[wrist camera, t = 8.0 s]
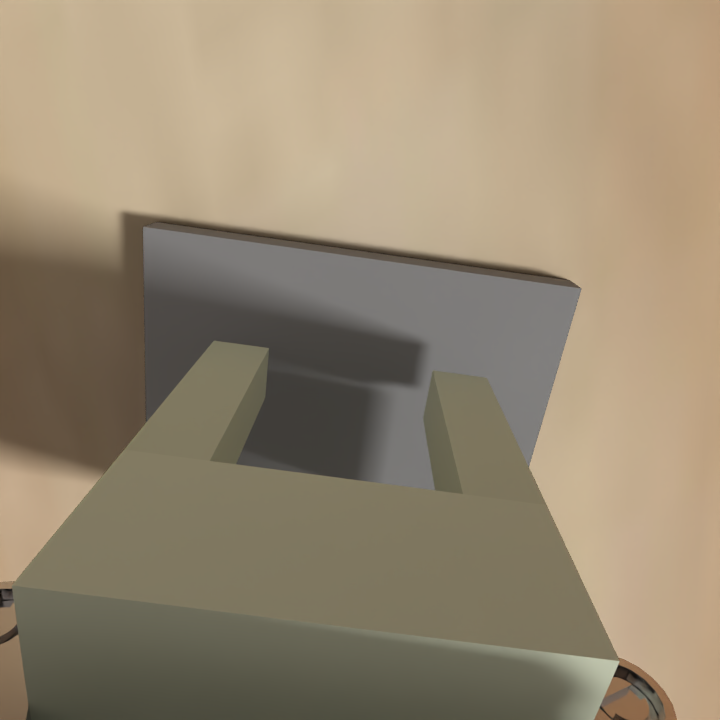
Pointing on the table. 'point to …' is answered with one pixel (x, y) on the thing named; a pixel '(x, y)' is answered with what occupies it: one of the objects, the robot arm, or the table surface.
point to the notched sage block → (309, 578)
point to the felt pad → (349, 343)
